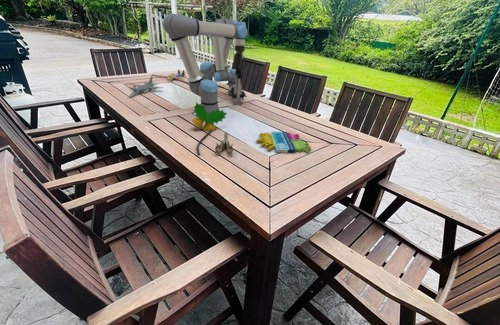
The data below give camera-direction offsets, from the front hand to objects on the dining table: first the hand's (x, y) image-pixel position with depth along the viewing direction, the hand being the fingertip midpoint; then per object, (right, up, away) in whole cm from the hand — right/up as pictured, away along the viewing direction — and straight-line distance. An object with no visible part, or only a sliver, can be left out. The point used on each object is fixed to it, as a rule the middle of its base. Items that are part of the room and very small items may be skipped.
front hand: (238, 77), depth 204 cm
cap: (0, +2, -1) cm, 2 cm away
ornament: (-16, -45, -40) cm, 62 cm away
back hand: (0, -15, +3) cm, 15 cm away
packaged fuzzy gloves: (+28, -55, -52) cm, 81 cm away
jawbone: (-4, -61, -66) cm, 90 cm away
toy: (-71, +24, +77) cm, 107 cm away
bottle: (-1, -18, +10) cm, 21 cm away
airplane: (-84, -4, +25) cm, 87 cm away
